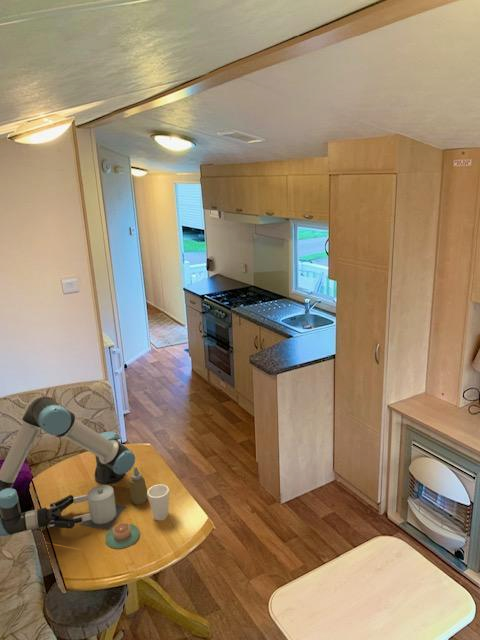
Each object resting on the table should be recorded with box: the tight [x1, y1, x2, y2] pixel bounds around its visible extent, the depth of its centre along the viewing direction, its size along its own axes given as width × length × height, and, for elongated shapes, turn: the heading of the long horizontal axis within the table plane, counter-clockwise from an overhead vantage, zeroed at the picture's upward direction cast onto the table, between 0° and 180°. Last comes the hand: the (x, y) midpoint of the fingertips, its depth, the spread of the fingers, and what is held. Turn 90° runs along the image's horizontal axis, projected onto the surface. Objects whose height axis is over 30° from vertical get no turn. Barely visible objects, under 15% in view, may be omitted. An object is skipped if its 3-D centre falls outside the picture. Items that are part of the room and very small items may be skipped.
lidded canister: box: [86, 484, 116, 524], centre depth 218 cm, size 11×11×14 cm
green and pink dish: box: [104, 521, 141, 550], centre depth 206 cm, size 14×14×5 cm
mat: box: [79, 503, 127, 531], centre depth 220 cm, size 16×14×1 cm
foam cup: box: [147, 483, 170, 522], centre depth 217 cm, size 10×9×13 cm
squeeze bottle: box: [129, 466, 148, 506], centre depth 226 cm, size 8×8×18 cm
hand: (89, 506), depth 216 cm, fingers open, 13 cm apart
